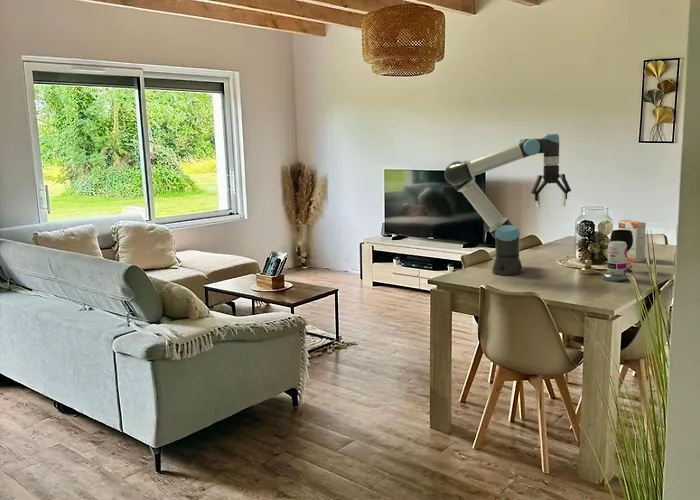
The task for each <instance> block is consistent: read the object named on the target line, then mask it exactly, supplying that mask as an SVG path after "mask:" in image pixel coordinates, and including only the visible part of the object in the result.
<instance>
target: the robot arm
mask: <svg viewBox="0 0 700 500" xmlns="http://www.w3.org/2000/svg"><path fill="white" fill-rule="evenodd" d="M537 154H543V174H542V175H540V174H538V175H537V177H536V181H535V183H534V185H533V186H532V187H533V188H532V189H531V191H530V193H531V194H533V195H534V201H535V202H536V204H535V208H538V209H540V208H541V195H540V193H541V192H542V190H543V189H544V188H545V187H546V186H547V184H556V185H557V186H558V188H559V189H560V190H561V191H562V192H561V206H562V207H566V205H567V204H566V201H567V199H568V193H571V192H572V189H571V187H570V185H569V183H568V181H567V179H566V174H565V173H560V165H559V164H560V135H559V134H558V133H548V134H547V133H545V134H544V135H543V137H541V138H525V139H524V138H523V139H520V140H519V143H517V144H514V145H510V146H509V147H506V148H502V149H501V150H498V151H495V152H492V153H489V154H486V155H483V156H481V157H477V158H475V159H473V160H465V161H459V160H458V161H453V162H452V163H450V164H449V165H447V167H446V168H445V170H444V179H445V181H446V182H447V183H448V184H449V185H451V186H452V187H453V188H454V189H455V190H456V191H457V192H459V193H462V194H463V196H464V197H465V198H466V199H467V201H468V202H469V203H470V204H471V205H472V207H473V209H474V210H475V211H476V212H477V214H478V215H480V217H481V218H482V220H483V221H484V222H485V223H486V225H487V226H488V227H489V231H488V232H489V233H490V234H491V236H492V237H493V238H494V239H495V259H494V262H493V265H492V271H491V272H492V274H494V275H497V276H518V275H521V274H523V273H524V269H523V265H522V262H521V258H520V228H519V227H518V226H516V225H514V224H513V223H512V222H511V221H510V220H509V218H507V217H503V216H502V214H501V213H500V212H499V211H498V209H497V208H496V207H495V205H494V204H493V203H492V202H491V200H490V199H489V198H488V197H487V195H486V194H485V193H484V191H483V190H482V189H481V188H480V186H479V185H478V184H477V183H476V177H475V176H477V175H481V174H483V173H485V172H489V171H491V170H494V169H497V168H500V167H502V166H503V167H504V166H505V165H508V164H511V163H514V162H517V161H519V160H522V159H525V158H528V157H530V156H535V155H537ZM559 179H561V181H560V180H559ZM541 181H542V183H541ZM561 182H562V183H561ZM540 183H541V184H540Z"/></svg>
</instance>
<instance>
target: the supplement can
mask: <svg viewBox="0 0 700 500" xmlns="http://www.w3.org/2000/svg"><path fill="white" fill-rule="evenodd" d="M627 262H628V261H627V244H626V242H624V241H611V242H610V241H609V243H608V244H607V267H606V268H607V270H606V272H608V273H609V274H611V275H624V274H625V273H626V268H628V267H627V266H628V263H627Z"/></svg>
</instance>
